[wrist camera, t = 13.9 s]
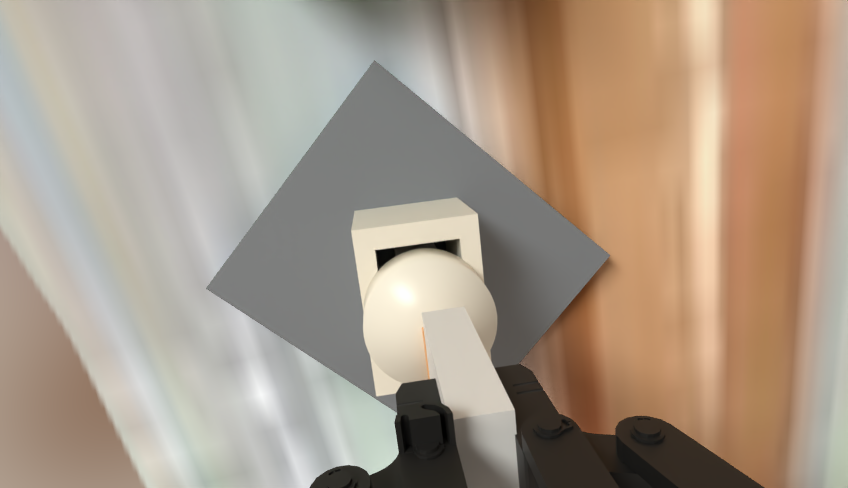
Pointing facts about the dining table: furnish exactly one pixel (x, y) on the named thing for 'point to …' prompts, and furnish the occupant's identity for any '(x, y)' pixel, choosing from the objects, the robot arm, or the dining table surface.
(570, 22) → the dining table surface
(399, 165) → the board
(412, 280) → the knob
